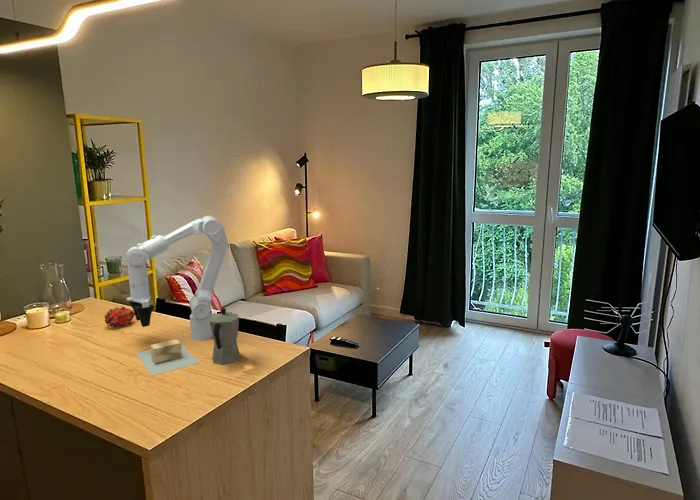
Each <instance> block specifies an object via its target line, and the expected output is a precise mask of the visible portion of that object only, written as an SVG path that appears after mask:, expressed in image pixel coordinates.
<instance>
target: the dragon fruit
mask: <svg viewBox="0 0 700 500" xmlns="http://www.w3.org/2000/svg"><path fill="white" fill-rule="evenodd" d="M134 318H135V314H134V311H133V309H130V308H126V307H125V306H121V307H120V308H119V307H118V306H116V307H115V308H110V309H109V310H108V311H107V312H106V314H105V315H104V322H105V324H106V325H107V327H110V328H111V327H113V329H116V328H117V327H118V328H124V327H125V326H130V325H131V324H132V321H133V319H134Z"/></svg>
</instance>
